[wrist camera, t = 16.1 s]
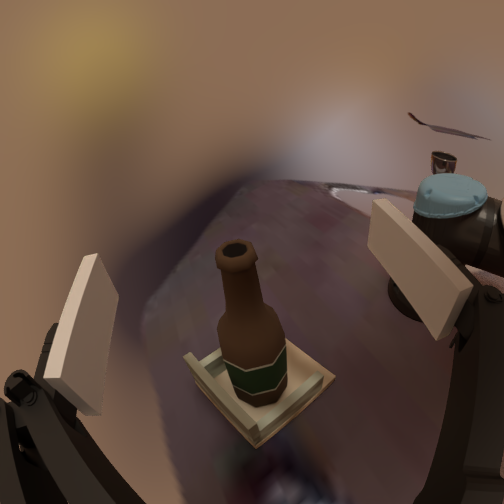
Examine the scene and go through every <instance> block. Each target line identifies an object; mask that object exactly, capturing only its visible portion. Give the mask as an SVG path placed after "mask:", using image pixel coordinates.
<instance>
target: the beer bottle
mask: <svg viewBox="0 0 504 504" xmlns="http://www.w3.org/2000/svg"><path fill="white" fill-rule="evenodd" d="M215 260H216V264H217V268H218V269H221V275H222V281H223V287H224V294H225V300H226V312H225V313H224V315H223V316H222V317H221V319H220V320H219V323H218V327H217V332H218V337H219V342H220V347H221V352H222V357H223V361H224V363H225V366H226V369H227V372H228V375H229V377H230V380H231V383H232V386H233V388H234V391H235V394H236V396H237V398H238V399H240V400H242V401H244V402H246V403H248V404H250V405H252V406H254V407H260V406H264V405H268V404H272V403H276V402H277V401H278V399H279V398H280V396H281V395H282V393H283V392H284V390H285V389H286V387H287V382H288V377H287V351H286V340H285V334H284V331H283V329H282V326H281V324H280V321H279V318H278V316H277V314H276V312H275V311H274V310H273V308H272V307H270V306H268V305H267V304H265V303H264V302H263V298H262V293H261V289H260V284H259V279H258V275H257V270H256V265H255V262H256V261H257V260H258V257H257V255H256V252H255V250H254V247H253V245H252V243H251V242H248V241H244V240H241V239H237V240H232V241H228V242H224V243H223V244H222V245H221V246H220V247H219V248H218V249H217V250H216V255H215Z"/></svg>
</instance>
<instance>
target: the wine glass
mask: <svg viewBox="0 0 504 504" xmlns="http://www.w3.org/2000/svg"><path fill="white" fill-rule="evenodd" d="M456 162H457V158H456V157H455V156H453V155H451V154H449V153H446V152H442V151H433V152H432V155H431V170H432V173H433V175H435V174H440V173H452V174H454V171H455V168H456Z"/></svg>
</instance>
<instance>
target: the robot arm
mask: <svg viewBox="0 0 504 504" xmlns="http://www.w3.org/2000/svg"><path fill="white" fill-rule="evenodd" d="M413 208H414V214H413V220H412V222H411V221H410V220H409V219H408V218H407V217H406V216H405V215H404V214H403V213H402V212H401V211H399V210H398V209H397V208H396V207H395V206H394V205H393V204H392V203H390V202H389V201H388V200H387V199H386V198H383V199H378V200H373V202H372V212H371V221H370V229H369V237H368V245H367V247H368V248H369V249H370V251H371V252H372V253H373V254H374V256H375V257H376V258H377V259H378V261H379V262H380V263H381V265H382V266H383V267H384V268H385V270H386V271H387V272H388V274H389V275H390V276H391V277H390V281H389V285H388V292H389V296H390V298H391V300H392V302H393V304H394V305H395V306H396V307H397V308H398V309H399V310H400V311H401V312H402V313H404V314H405V315H407V316H408V317H410V318H412V319H415V320H418V321H421V322H424V324H425V325H426V327H427V328H428V330H429V331H430V333H431V334H432V336H433V337H434V339H435V340H436V341H437V340H439V339H441V338H444V337H446V336H448V335H449V334H450V333H451V331H452V329H453V327H454V325H455V326H456V328H457V329H458V332H457V334H456V335H455V337H454V339H453V341H452V342H451V344H450V347H449V348H452V347H453V345H454V343H455V351H454V360H453V368H452V376H451V382H450V389H449V395H448V400H447V405H446V410H445V415H444V420H443V424H442V429H441V433H440V437H439V441H438V444H437V448H436V452H435V455H434V459H433V462H432V465H431V468H430V471H429V474H428V477H427V480H426V483H425V486H424V488H423V490H422V491H421V492H420V494H419V495H418V496H417V497H416V499H415V500H414V502H413V504H502V501H503V498H504V479H503V478H502V477H501V476H500V466H501V461H502V456H503V450H504V294H502V293H501V292H500V291H499V290H498V289H497V288H495V287H493V286H489V285H485V286H482V285H481V284H480V283H479V281H478V280H477V279H476V278H475V277H474V276H473V275H472V274H471V273H470V271H469V270H468V269H467V268H466V267H465V265H470V266H472V267H475V268H478V269H481V270H484V271H487V272H489V273H492V274H495V275H497V276H500V277H503V278H504V198H503V200H502V201H500V200H497V199H495V198H491V197H488V195H487V190H486V188H485V187H484V185H483V184H482V183H480V182H479V181H476V180H473V178H470V177H467V176H464V175H459V174H452V173H440V174H435V175H431V176H428V177H427V178H425V179H424V180H423V181H422V182H421V183H420V185H419V188H418V192H417V197H416V200H415V202H414V206H413ZM118 299H119V295H118V293H117V291H116V289H115V288H114V286H113V284H112V282H111V280H110V278H109V276H108V274H107V271H106V270H105V267H104V266H103V263H102V261H101V259H100V257H99V255H98V253H97V254H92V255H88V256H84V258H83V261H82V263H81V265H80V268H79V270H78V273H77V275H76V277H75V280H74V283H73V285H72V288H71V290H70V293H69V296H68V298H67V301H66V304H65V307H64V310H63V312H62V315H61V319H60V321H59V323H54V324H53V326H52V327H51V328H50V330H49V331H48V333H47V336H46V338H45V342H44V345H43V348H42V354H41V355H40V359H39V362H38V365H37V369H36V372H35V376H34V379H33V378H32V377H31V376H30V375H29V374H28V373H27V372H26V371H24V370H16V371H14V372H13V373H12V374H11V375H10V376H9V377H8V378H7V380H6V382H5V386H4V394H5V396H7V397H8V398H9V399H10V400H11V401H12V402H9V403H6V402H5V401H4V400H3V399H2V398H0V503H1V504H68V503H69V504H146V503H145V502H144V501H143V500H142V499H141V498H140V497H139V496H138V495H137V493H136V492H135V491H134V490H133V489H132V488H131V487H130V485H129V484H128V483H127V482H126V481H125V480H124V479H123V477H122V476H121V475H120V474H119V473H118V471H117V470H116V469H115V468H114V466H113V465H112V464H111V463H110V462H109V460H108V459H107V458H106V456H105V455H104V454H103V452H102V451H101V450H100V448H99V447H98V445H97V444H96V443H95V441H94V440H93V439H92V437H91V436H90V434H89V433H88V431H87V430H86V428H85V427H84V425H83V424H82V422H81V421H80V420H79V419H78V418H77V417H76V413H77V409H78V410H79V411H80V412H81V413H83V414H84V415H86V416H99V415H101V413H102V402H103V392H104V383H105V375H106V368H107V360H108V353H109V347H110V341H111V335H112V330H113V324H114V319H115V314H116V309H117V303H118ZM19 445H20V448H19ZM20 449H21V451H20ZM67 501H68V502H67Z"/></svg>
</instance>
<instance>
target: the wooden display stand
mask: <svg viewBox="0 0 504 504" xmlns="http://www.w3.org/2000/svg"><path fill="white" fill-rule="evenodd" d="M285 340H286V351H287V377H288V382H287V387H286V389H285V390H284V392H283V393H282V395H281V396H280V398H279V399H278V401H277V402H276V403H272V404H268V405H264V406H260V407H254V406H252V405H250V404H248V403H246V402H244V401H242V400H240V399H238V398H237V396H236V394H235V391H234V388H233V386H232V383H231V380H230V377H229V375H228V372H227V369H226V366H225V363H224V361H223V357H222V352H221V347H220V348H219V349H217V350H216V351H214V352H213V353H211V354H210V355H208V356H207V357H206V358H204V359H203V360H201V361H200V362H199V361H198V360H197V359H196V358H195V357H194V356H193V354H192V353H191V352H189V353H188V354H186V355H185V356H183V358H184V360H185V362H186V364H187V366H188V367H189V369H190V371H191V373H192V375H193V377H194V379H195V380H196V384H197V386H198V387H199V388H200V389H201V390H202V392H203V393H204V394H205V395H206V396H207V397H208V399H209V400H210V401H211V402H212V403H213V404H214V405H215V406H216V408H217V409H218V410H219V411H220V412H221V413H222V414H223V415H224V416H225V418H226V419H227V420H228V421H229V422H230V423H231V424H232V425H233V426H234V427H235V428H236V429H237V430H238V431H239V432H240V433H241V435H242V436H243V437H244V438H245V439H246V440H247V441H248V442H249V443H250V444H251V445H252V446H253V447H254V448H255V449H257V448H258V447H260V446H261V445H262V444H263V443H265V442H266V441H267V440H268V439H270V438H271V437H272V436H273V435H275V434H276V433H277V432H278V431H280V430H281V429H282V428H283V427H284V426H285V425H287V424H288V423H289V422H290V421H291V420H292V419H294V418H295V417H296V416H297V415H298V414H299V413H300V412H302V411H303V410H304V409H305V408H306V407H307V406H308V405H309V404H310V403H311V402H313V401H314V400H315V399H316V398H317V397H318V396H319V395H320V394H321V393H322V392H323V391H324V390H325V389H326V388H327V387H328V386H329V385H330V384H331V383H332V382H333V381H334V380H335V377H336V376H335V375H333V374H332V373H331V372H329V371H328V370H327V369H325V368H324V367H323V366H321V365H320V364H319V363H317V362H316V361H315V360H313V359H312V358H311V357H309V356H308V355H307V354H305V353H304V352H303V351H301V350H300V349H299V348H297V347H296V346H295V345H294V344H292V343H291V342H290V341H288V340H287V339H286V338H285Z"/></svg>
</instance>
